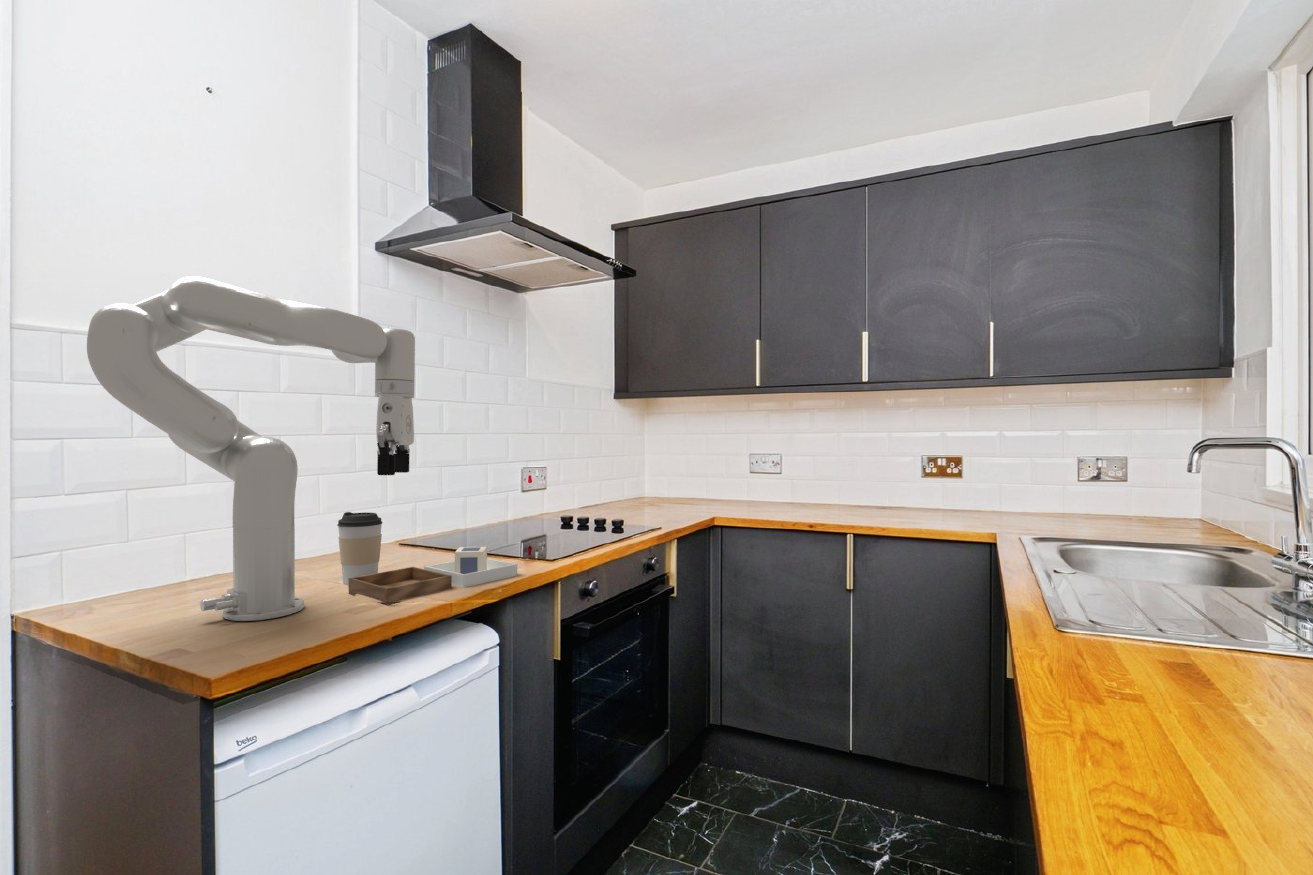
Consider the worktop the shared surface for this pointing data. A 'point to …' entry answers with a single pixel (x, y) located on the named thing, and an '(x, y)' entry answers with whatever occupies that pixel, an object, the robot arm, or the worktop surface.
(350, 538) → the coffee cup
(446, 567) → the grey tray
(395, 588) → the walnut tray
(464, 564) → the letter cube
